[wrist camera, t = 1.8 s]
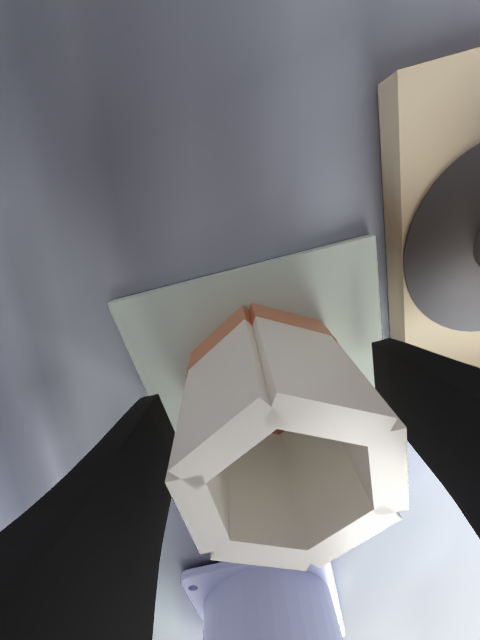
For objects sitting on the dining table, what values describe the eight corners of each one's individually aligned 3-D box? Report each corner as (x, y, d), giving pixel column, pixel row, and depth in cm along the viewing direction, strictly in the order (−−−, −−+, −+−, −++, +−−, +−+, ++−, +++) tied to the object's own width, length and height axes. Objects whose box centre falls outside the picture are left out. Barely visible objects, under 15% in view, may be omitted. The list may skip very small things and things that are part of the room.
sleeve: (362, 366, 11) (462, 483, 6) (254, 448, 12) (273, 596, 8) (276, 273, 10) (326, 341, 5) (162, 378, 11) (117, 510, 6)
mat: (383, 436, 13) (388, 443, 13) (190, 480, 13) (189, 487, 13) (369, 234, 10) (375, 235, 9) (111, 300, 10) (106, 304, 10)
